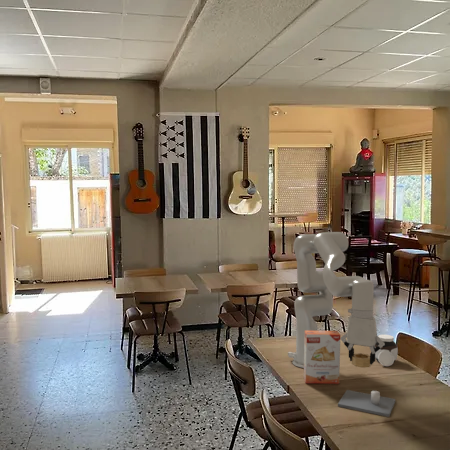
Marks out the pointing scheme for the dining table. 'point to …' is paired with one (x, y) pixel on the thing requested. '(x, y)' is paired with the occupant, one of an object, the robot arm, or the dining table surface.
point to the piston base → (367, 402)
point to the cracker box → (322, 357)
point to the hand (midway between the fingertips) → (361, 361)
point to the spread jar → (387, 350)
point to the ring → (361, 360)
